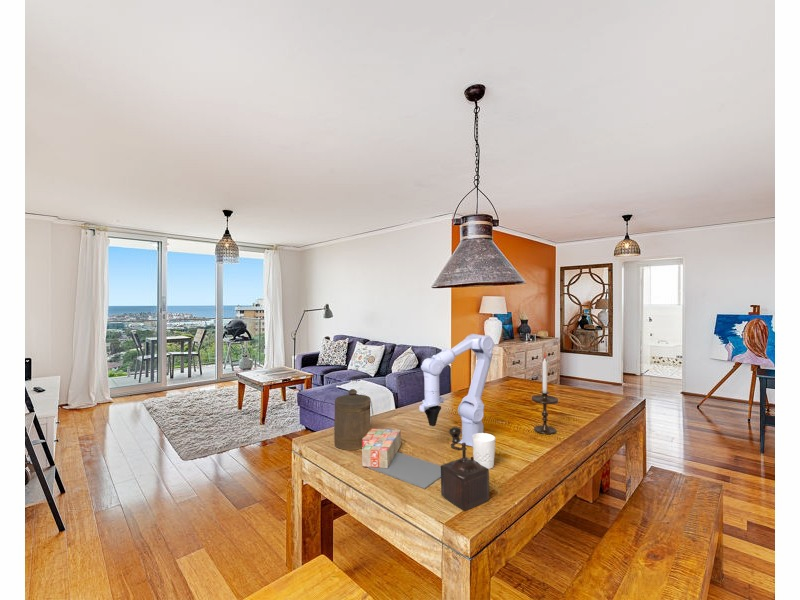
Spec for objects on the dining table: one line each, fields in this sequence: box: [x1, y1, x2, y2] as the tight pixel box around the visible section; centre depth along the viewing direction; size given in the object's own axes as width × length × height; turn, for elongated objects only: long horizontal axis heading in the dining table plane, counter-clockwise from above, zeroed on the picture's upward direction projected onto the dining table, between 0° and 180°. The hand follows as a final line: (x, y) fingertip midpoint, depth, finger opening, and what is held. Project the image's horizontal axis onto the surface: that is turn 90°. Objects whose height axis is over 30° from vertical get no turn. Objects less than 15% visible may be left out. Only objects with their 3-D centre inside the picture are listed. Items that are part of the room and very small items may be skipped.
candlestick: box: [531, 352, 559, 436], centre depth 166 cm, size 11×11×35 cm
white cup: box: [472, 432, 496, 470], centre depth 134 cm, size 8×8×10 cm
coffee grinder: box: [440, 426, 490, 512], centre depth 115 cm, size 16×11×18 cm
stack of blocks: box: [361, 428, 402, 468], centre depth 143 cm, size 21×6×12 cm
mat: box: [367, 451, 441, 490], centre depth 131 cm, size 16×24×1 cm, turn 52°
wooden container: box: [333, 388, 372, 451], centre depth 155 cm, size 15×15×22 cm
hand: (432, 425), depth 145 cm, fingers closed
